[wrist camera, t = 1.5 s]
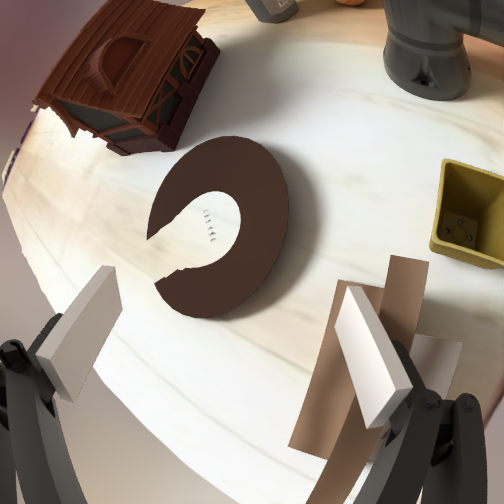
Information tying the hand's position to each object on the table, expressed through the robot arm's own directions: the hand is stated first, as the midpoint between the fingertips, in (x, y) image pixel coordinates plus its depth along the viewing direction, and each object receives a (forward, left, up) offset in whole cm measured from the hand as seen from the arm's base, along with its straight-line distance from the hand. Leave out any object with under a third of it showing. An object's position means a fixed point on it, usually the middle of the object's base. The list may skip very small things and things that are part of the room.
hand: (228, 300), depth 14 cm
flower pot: (-19, -1, -22) cm, 29 cm away
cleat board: (-3, +11, -22) cm, 25 cm away
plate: (+12, -18, -22) cm, 31 cm away
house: (+14, -55, -22) cm, 61 cm away
